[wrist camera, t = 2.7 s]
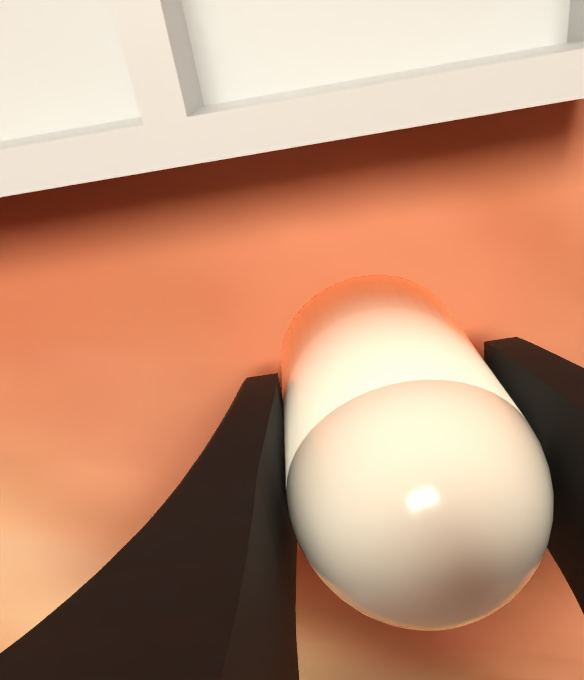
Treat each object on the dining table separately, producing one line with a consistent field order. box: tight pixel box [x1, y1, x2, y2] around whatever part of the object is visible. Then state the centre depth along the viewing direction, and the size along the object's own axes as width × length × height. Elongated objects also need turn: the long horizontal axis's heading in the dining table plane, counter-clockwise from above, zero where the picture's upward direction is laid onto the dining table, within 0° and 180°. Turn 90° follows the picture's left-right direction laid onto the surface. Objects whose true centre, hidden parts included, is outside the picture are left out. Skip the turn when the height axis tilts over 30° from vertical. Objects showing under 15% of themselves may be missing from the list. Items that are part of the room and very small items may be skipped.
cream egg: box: [281, 275, 554, 631], centre depth 9 cm, size 4×4×6 cm
